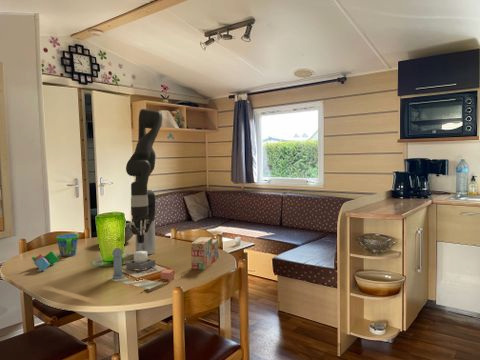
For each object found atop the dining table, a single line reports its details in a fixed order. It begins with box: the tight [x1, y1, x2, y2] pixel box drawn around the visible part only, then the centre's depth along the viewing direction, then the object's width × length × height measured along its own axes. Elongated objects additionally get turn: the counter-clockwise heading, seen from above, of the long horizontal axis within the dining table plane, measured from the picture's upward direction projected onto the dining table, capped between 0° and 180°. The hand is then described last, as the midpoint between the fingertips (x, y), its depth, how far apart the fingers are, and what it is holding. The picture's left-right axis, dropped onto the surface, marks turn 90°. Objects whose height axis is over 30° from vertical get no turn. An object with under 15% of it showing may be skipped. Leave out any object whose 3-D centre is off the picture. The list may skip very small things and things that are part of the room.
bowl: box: [125, 220, 135, 243], centre depth 221 cm, size 18×18×13 cm
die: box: [160, 268, 175, 283], centre depth 155 cm, size 4×4×4 cm
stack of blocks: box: [190, 236, 219, 271], centre depth 180 cm, size 21×6×12 cm, turn 166°
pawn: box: [111, 247, 125, 280], centre depth 155 cm, size 4×4×12 cm
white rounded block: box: [133, 250, 149, 264], centre depth 169 cm, size 6×6×5 cm
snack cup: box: [55, 233, 80, 258], centre depth 195 cm, size 16×10×10 cm
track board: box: [107, 276, 164, 293], centre depth 151 cm, size 24×8×1 cm, turn 60°
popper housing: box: [125, 258, 156, 270], centre depth 170 cm, size 9×9×4 cm
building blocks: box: [31, 251, 60, 272], centre depth 174 cm, size 8×8×12 cm
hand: (140, 243), depth 169 cm, fingers closed
